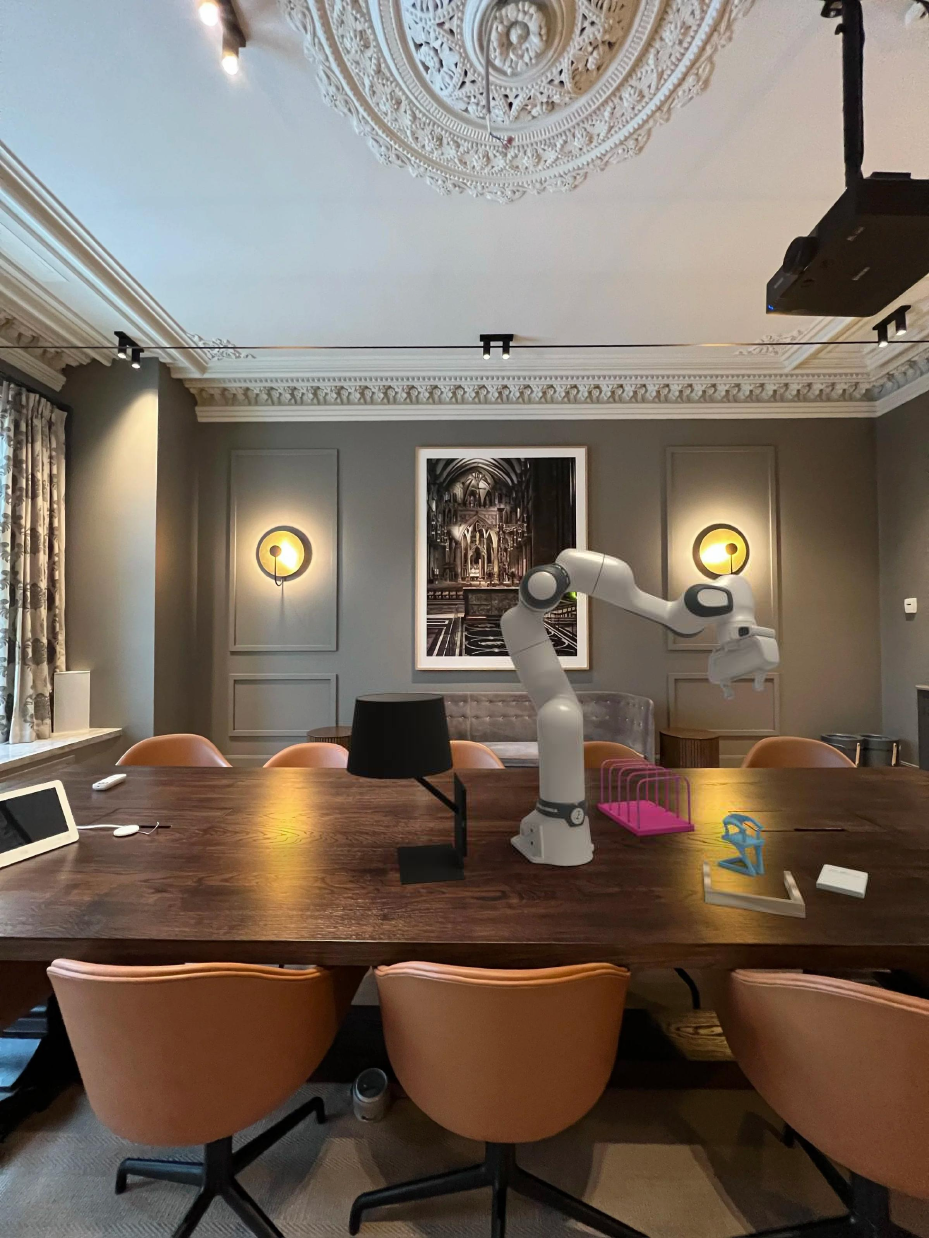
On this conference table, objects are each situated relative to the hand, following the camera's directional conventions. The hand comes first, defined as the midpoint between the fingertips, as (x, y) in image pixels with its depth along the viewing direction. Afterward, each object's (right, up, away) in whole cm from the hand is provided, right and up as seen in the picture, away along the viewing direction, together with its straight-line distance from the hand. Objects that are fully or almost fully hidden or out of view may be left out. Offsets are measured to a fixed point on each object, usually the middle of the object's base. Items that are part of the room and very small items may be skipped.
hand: (743, 694), depth 129 cm
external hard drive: (+17, -40, -10) cm, 44 cm away
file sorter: (-12, -42, +34) cm, 56 cm away
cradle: (-6, -40, -14) cm, 42 cm away
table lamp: (-79, -41, +3) cm, 89 cm away
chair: (-1, -40, -2) cm, 40 cm away
